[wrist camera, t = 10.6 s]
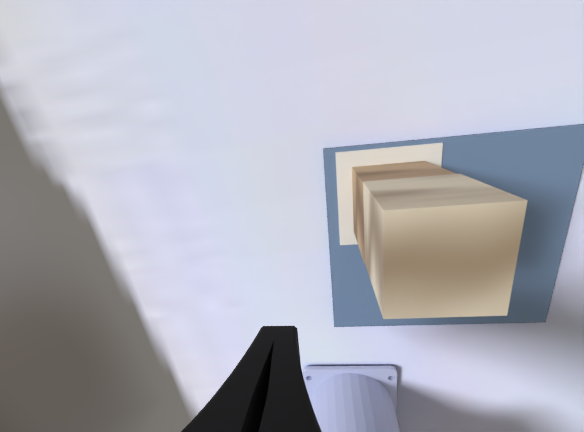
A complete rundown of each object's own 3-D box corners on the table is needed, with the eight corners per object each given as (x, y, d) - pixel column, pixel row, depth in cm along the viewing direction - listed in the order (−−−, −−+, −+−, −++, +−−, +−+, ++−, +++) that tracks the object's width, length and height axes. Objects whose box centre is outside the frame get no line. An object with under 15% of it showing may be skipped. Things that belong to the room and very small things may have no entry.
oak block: (421, 227, 19) (451, 259, 15) (353, 231, 19) (364, 263, 15) (424, 160, 17) (459, 174, 13) (351, 166, 18) (362, 182, 14)
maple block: (452, 258, 15) (507, 315, 10) (364, 262, 15) (383, 319, 11) (459, 173, 13) (527, 200, 9) (363, 181, 14) (383, 210, 9)
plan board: (539, 316, 21) (546, 323, 21) (334, 321, 23) (334, 327, 22) (583, 124, 17) (594, 124, 16) (323, 148, 18) (323, 149, 18)
